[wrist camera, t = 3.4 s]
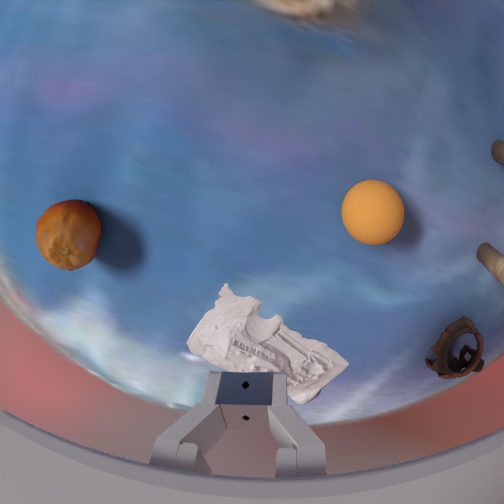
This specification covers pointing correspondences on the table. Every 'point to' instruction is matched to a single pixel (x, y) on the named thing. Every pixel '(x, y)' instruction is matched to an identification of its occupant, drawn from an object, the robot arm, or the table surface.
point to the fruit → (69, 234)
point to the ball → (373, 212)
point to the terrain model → (263, 346)
